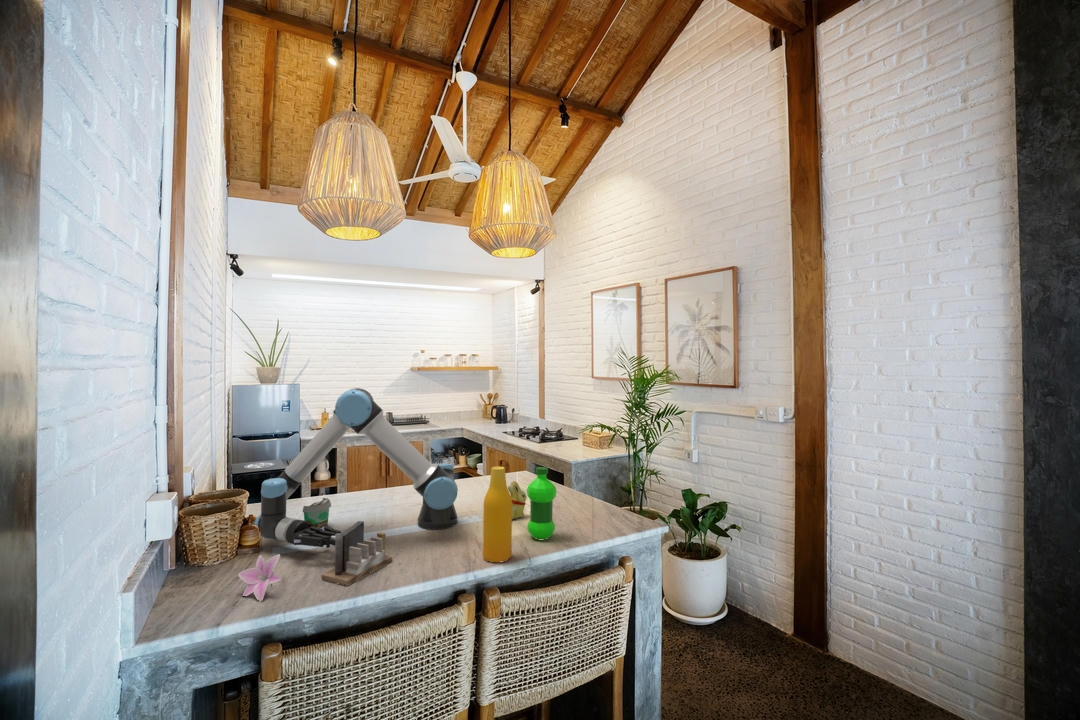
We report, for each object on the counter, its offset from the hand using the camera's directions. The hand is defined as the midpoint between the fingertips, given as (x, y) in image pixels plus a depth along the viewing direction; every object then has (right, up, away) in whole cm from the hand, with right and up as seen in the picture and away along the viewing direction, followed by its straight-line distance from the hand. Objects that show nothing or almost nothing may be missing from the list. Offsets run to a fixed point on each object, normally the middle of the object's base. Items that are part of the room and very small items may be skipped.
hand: (349, 542), depth 155 cm
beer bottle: (+45, -7, +7) cm, 46 cm away
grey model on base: (+4, -7, -4) cm, 9 cm away
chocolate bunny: (+48, -7, +48) cm, 68 cm away
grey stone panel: (+1, -5, -2) cm, 5 cm away
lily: (-17, -7, -19) cm, 26 cm away
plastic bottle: (+59, -8, +25) cm, 65 cm away
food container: (-23, -7, +32) cm, 40 cm away
